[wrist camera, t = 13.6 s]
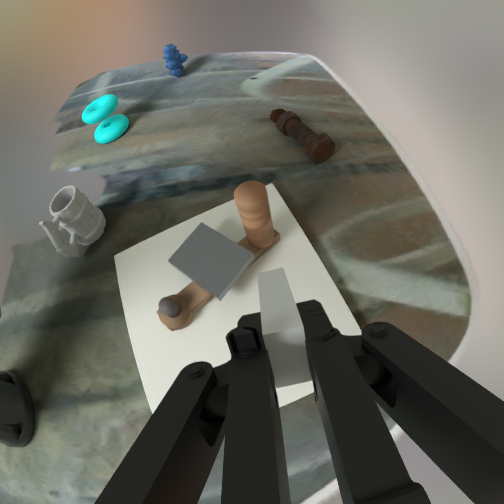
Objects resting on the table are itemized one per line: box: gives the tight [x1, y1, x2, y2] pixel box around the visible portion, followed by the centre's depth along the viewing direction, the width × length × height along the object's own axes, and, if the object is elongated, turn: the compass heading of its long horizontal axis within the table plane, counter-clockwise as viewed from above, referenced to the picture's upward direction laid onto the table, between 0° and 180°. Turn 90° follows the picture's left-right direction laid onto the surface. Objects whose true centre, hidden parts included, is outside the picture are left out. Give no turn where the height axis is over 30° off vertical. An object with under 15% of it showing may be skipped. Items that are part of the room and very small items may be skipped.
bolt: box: [270, 109, 335, 164], centre depth 50 cm, size 6×5×15 cm
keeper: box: [168, 222, 255, 301], centre depth 39 cm, size 9×7×5 cm
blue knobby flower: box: [163, 44, 188, 77], centre depth 69 cm, size 12×7×12 cm, turn 4°
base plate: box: [114, 183, 361, 414], centre depth 38 cm, size 28×30×2 cm
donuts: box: [82, 94, 129, 144], centre depth 61 cm, size 10×10×10 cm
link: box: [157, 181, 280, 332], centre depth 35 cm, size 19×4×10 cm, turn 131°
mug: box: [39, 185, 106, 258], centre depth 44 cm, size 8×12×12 cm, turn 175°
